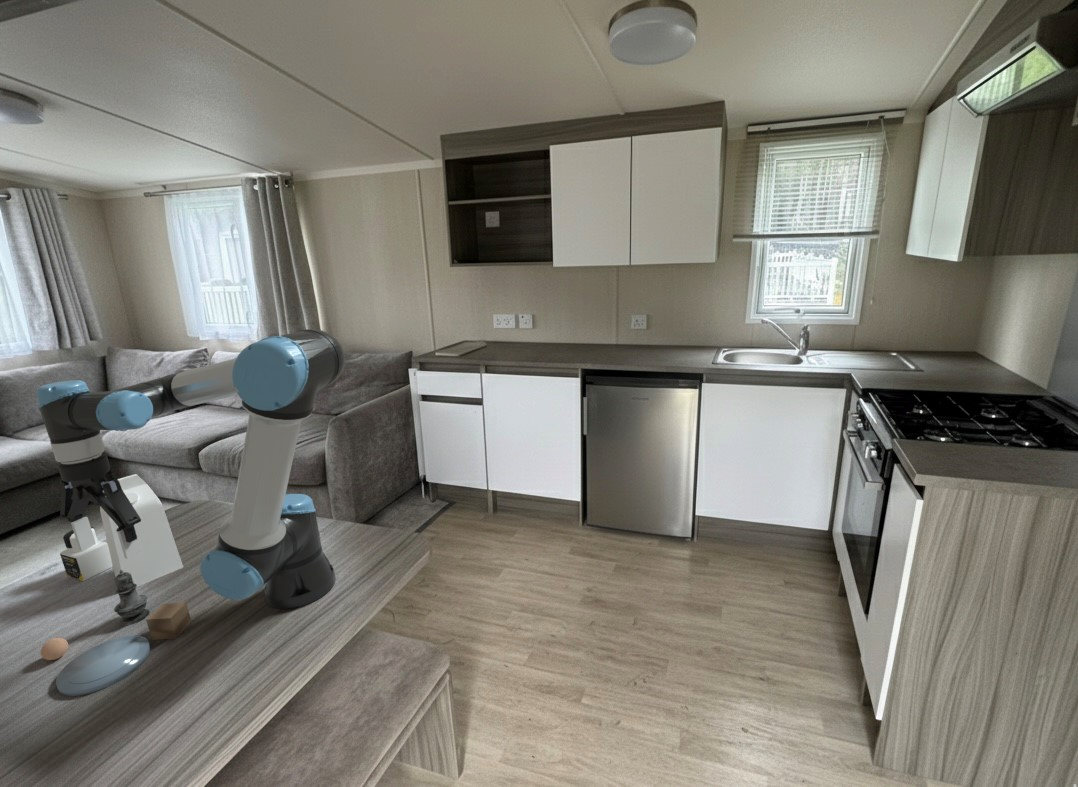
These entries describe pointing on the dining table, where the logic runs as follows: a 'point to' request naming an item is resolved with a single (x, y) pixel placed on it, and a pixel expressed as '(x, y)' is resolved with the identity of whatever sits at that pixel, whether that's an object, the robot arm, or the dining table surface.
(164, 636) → the walnut block
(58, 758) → the dining table surface
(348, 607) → the dining table surface
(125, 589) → the stone chess piece
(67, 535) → the medicine bottle
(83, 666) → the plate
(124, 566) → the milk
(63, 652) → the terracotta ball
